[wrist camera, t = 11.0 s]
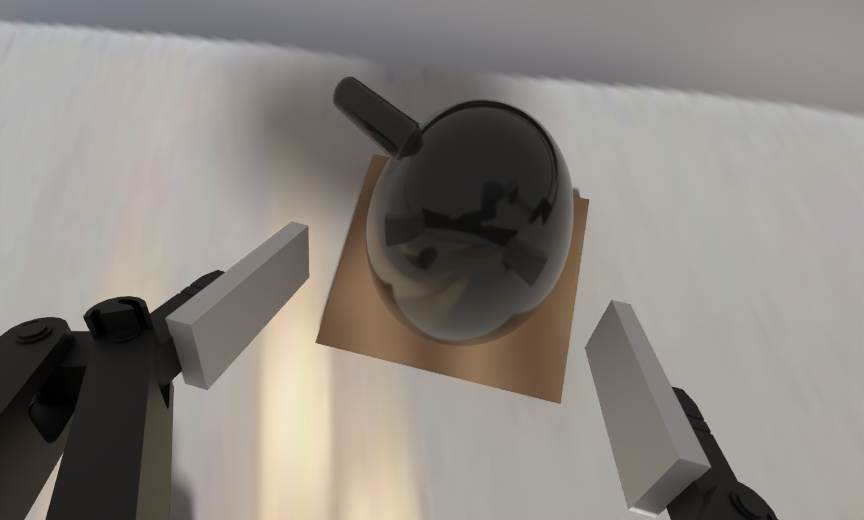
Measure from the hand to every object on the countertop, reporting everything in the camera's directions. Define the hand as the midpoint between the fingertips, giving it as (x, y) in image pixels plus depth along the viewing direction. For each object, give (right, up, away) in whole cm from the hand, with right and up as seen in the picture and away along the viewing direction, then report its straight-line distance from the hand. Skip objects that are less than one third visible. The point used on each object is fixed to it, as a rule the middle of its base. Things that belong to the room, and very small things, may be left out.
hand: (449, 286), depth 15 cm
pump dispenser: (+1, +1, +9) cm, 9 cm away
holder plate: (+1, 0, +10) cm, 10 cm away
